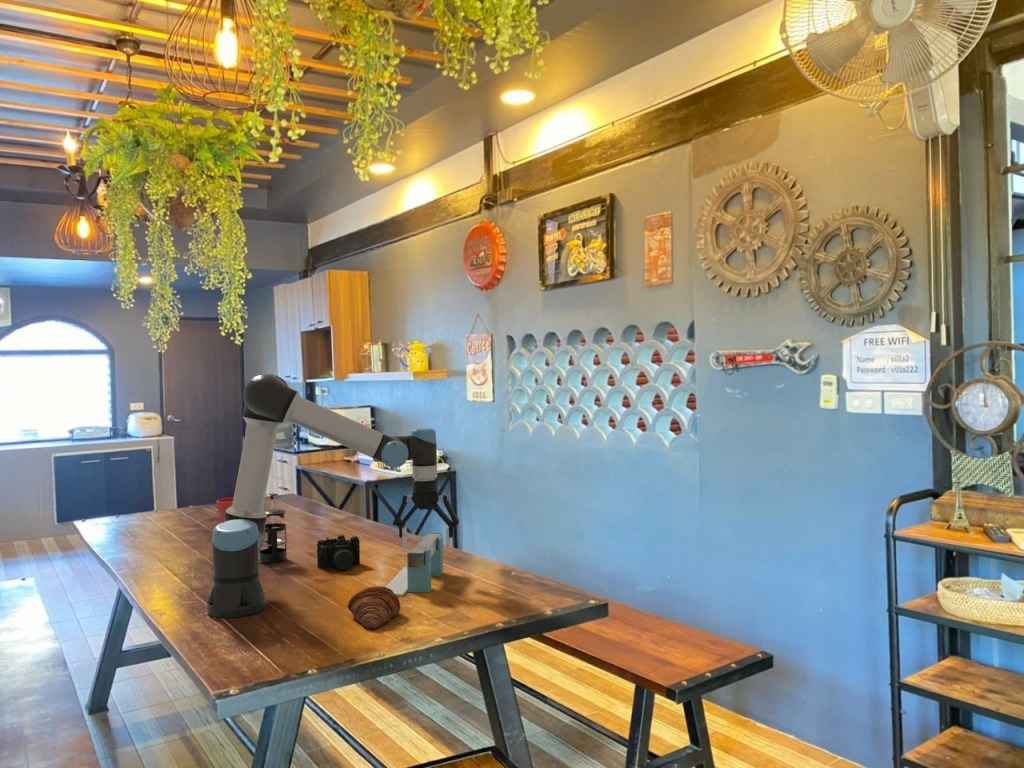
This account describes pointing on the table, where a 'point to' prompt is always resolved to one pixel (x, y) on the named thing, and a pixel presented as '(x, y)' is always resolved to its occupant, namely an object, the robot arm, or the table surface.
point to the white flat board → (399, 583)
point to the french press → (273, 538)
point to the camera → (338, 552)
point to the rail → (423, 550)
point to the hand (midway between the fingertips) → (426, 548)
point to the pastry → (374, 606)
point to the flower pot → (224, 507)
